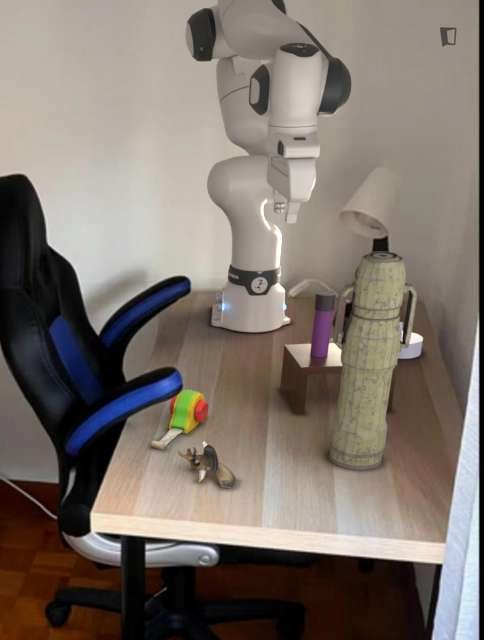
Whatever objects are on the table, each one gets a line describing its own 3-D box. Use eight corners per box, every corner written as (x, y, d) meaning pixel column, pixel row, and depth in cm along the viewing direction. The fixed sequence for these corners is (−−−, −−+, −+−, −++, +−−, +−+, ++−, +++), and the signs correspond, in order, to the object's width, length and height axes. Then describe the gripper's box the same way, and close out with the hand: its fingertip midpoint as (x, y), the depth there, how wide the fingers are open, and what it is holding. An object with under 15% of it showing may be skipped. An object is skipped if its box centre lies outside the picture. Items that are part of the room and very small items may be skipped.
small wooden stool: (280, 389, 196) (284, 344, 192) (369, 386, 196) (375, 341, 192) (296, 414, 185) (301, 367, 180) (391, 411, 185) (398, 364, 180)
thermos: (312, 449, 171) (335, 249, 155) (379, 446, 171) (409, 246, 155) (328, 471, 163) (354, 263, 147) (398, 468, 163) (431, 260, 147)
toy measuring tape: (217, 416, 185) (219, 384, 182) (171, 453, 171) (173, 419, 168) (186, 410, 188) (188, 378, 185) (139, 446, 174) (140, 412, 171)
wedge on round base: (356, 354, 213) (419, 360, 209) (360, 324, 210) (424, 330, 205) (360, 341, 220) (421, 347, 216) (364, 313, 217) (426, 317, 213)
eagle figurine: (170, 474, 161) (212, 481, 155) (181, 432, 162) (225, 439, 155) (197, 485, 166) (239, 493, 160) (208, 445, 167) (251, 451, 160)
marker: (307, 352, 188) (313, 290, 182) (325, 351, 188) (332, 290, 182) (312, 358, 185) (319, 296, 179) (330, 357, 184) (338, 295, 179)
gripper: (261, 134, 188) (256, 207, 195) (287, 149, 170) (280, 229, 176) (294, 133, 188) (287, 206, 194) (323, 148, 170) (315, 228, 176)
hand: (284, 217), depth 185 cm, fingers open, 8 cm apart
